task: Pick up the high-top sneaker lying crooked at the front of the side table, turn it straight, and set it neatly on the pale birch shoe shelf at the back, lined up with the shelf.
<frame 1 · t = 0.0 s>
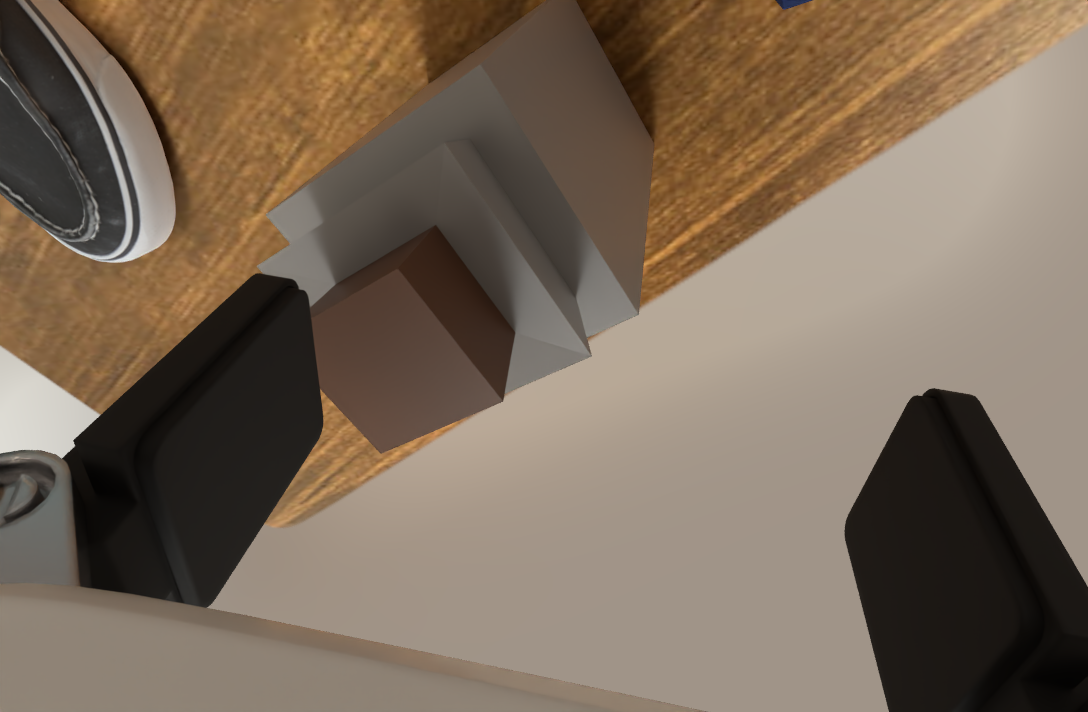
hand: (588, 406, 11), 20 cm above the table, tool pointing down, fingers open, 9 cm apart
perfume bottle: (541, 112, 28), on the table
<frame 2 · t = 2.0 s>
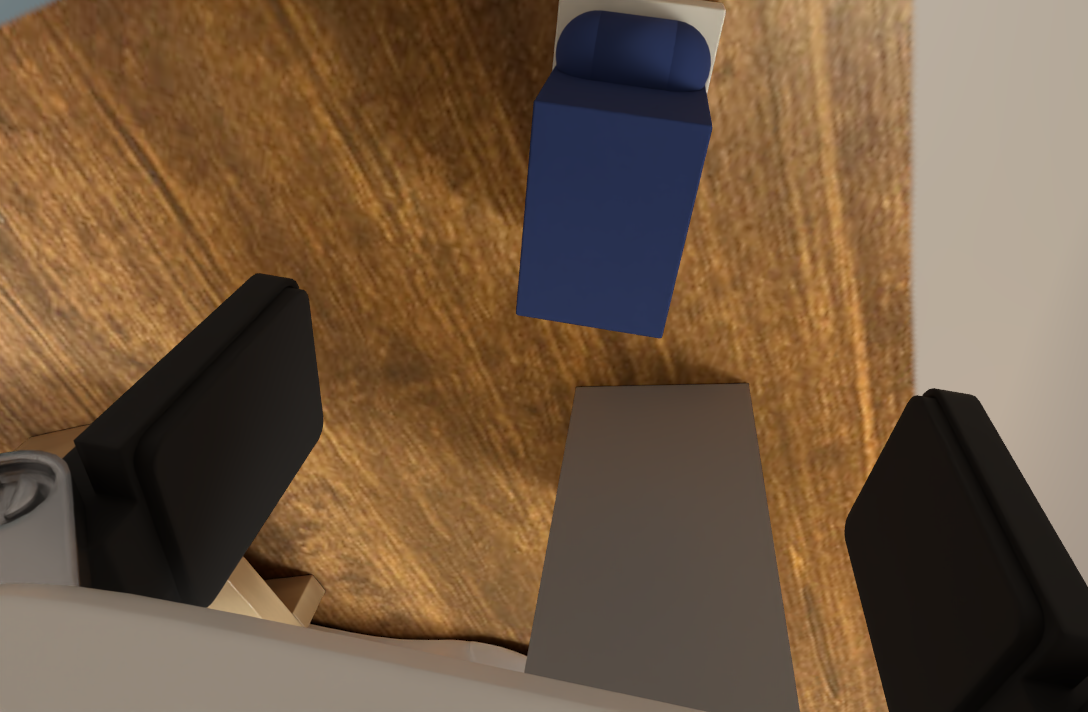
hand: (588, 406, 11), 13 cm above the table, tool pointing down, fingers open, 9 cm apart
boat shoe: (404, 657, 42), on the table
perfume bottle: (663, 445, 29), on the table
shoe shelf: (185, 518, 37), on the table
high-top sneaker: (621, 133, 22), on the table
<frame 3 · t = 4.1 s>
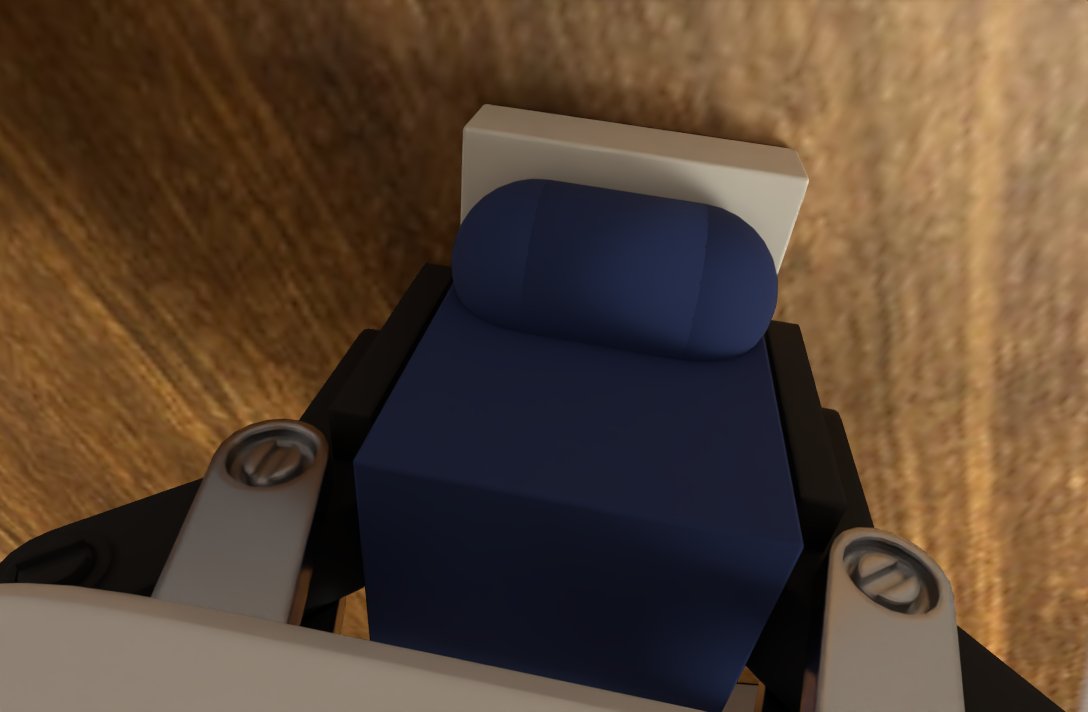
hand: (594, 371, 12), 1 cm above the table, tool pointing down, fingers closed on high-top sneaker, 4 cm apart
high-top sneaker: (597, 352, 12), on the table, touching gripper
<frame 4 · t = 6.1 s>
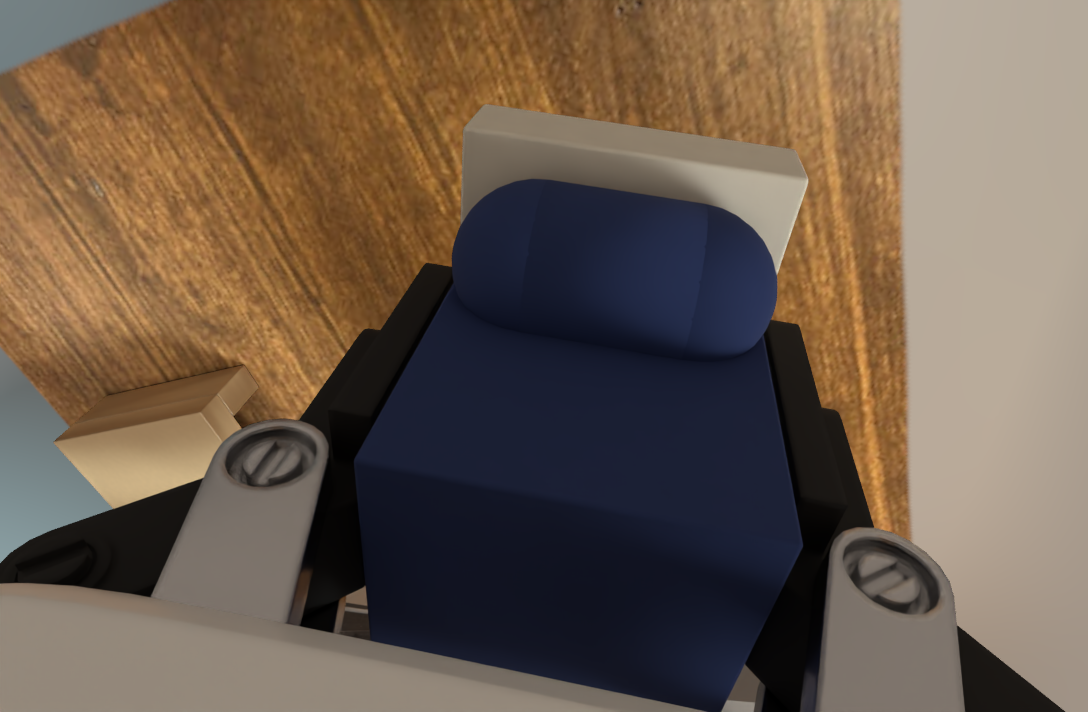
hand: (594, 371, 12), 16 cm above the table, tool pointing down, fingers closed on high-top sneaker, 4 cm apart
boat shoe: (435, 612, 45), on the table
perfume bottle: (681, 403, 32), on the table
shoe shelf: (241, 473, 40), on the table
high-top sneaker: (597, 352, 12), point 16 cm above the table, touching gripper
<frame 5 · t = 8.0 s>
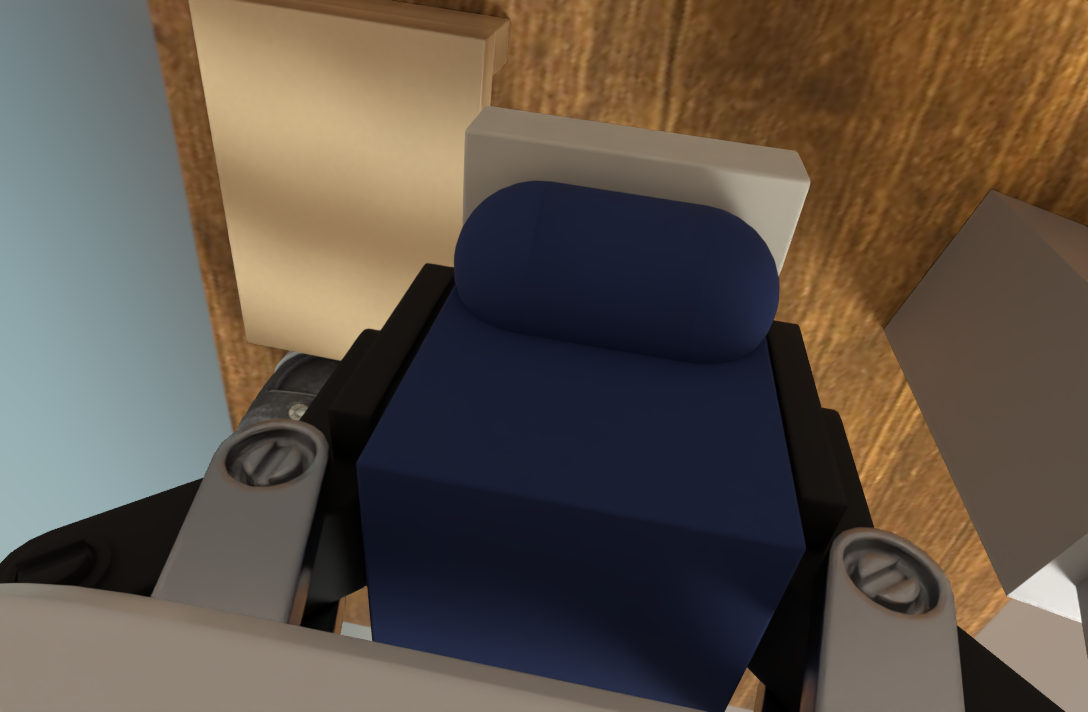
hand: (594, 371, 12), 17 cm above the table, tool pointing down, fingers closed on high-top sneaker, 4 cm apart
boat shoe: (507, 445, 37), on the table
perfume bottle: (1007, 291, 28), on the table
shoe shelf: (382, 179, 29), on the table
high-top sneaker: (599, 354, 12), point 17 cm above the table, touching gripper
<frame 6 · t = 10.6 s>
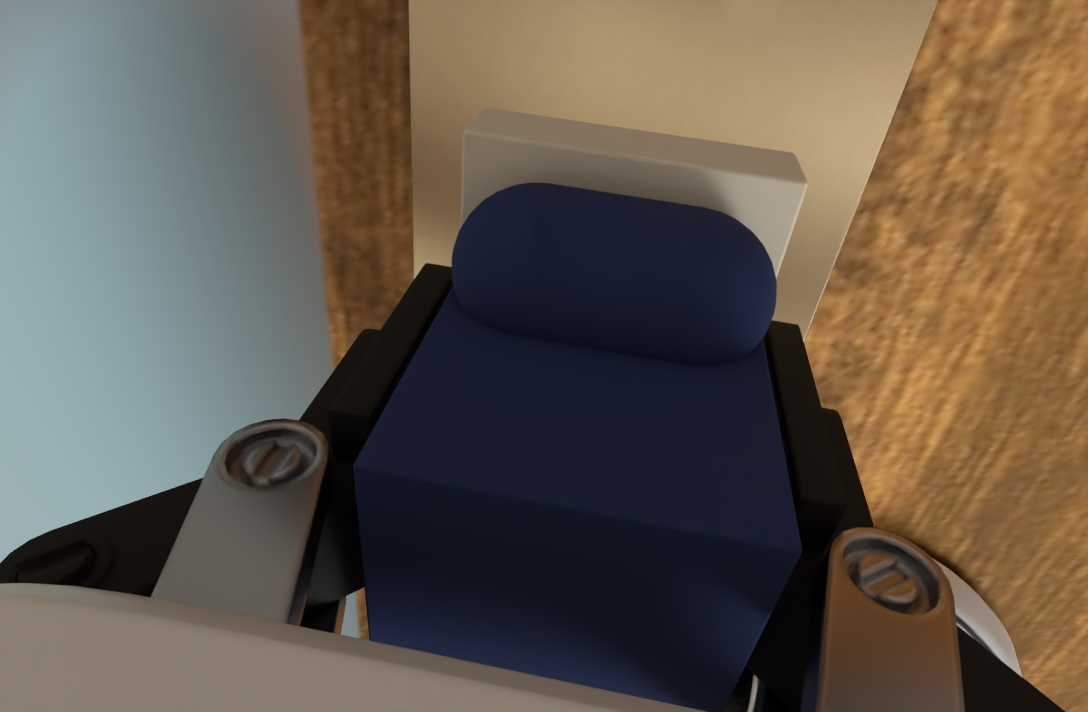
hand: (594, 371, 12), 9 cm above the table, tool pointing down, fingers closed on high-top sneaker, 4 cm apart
boat shoe: (733, 536, 27), on the table
shoe shelf: (628, 173, 19), on the table
high-top sneaker: (597, 355, 12), point 9 cm above the table, touching gripper
when the fingers open (5 cm above the table, at t = 12.2 s): high-top sneaker stays where it is, resting on shoe shelf.
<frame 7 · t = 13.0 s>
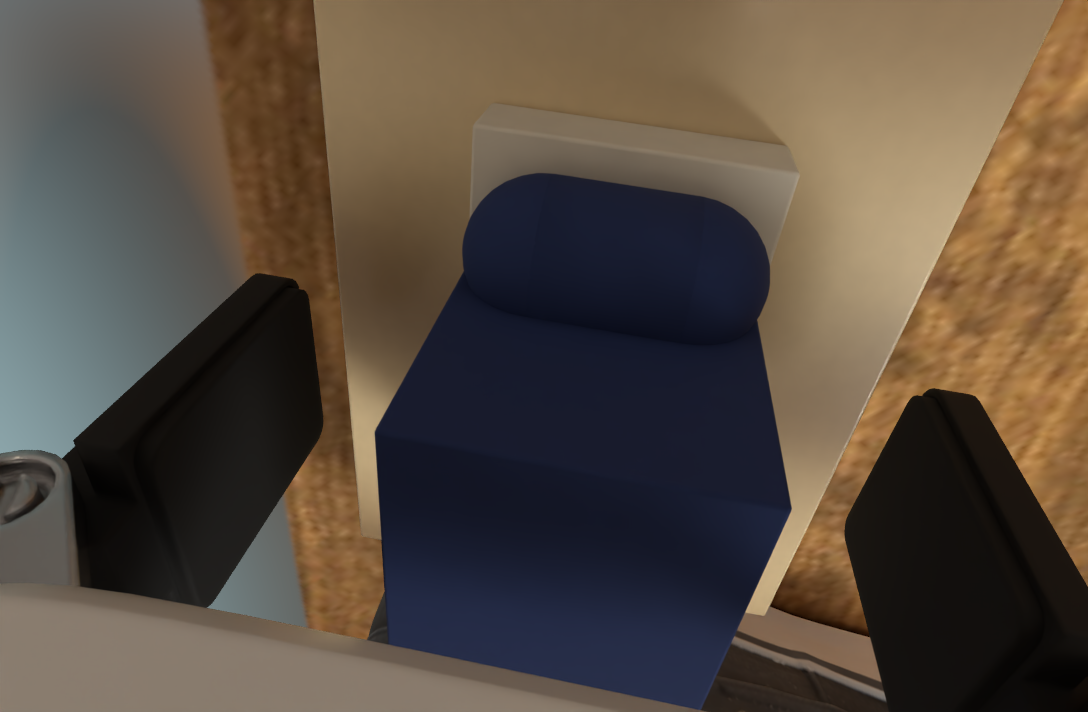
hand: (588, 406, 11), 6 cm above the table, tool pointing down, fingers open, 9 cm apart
boat shoe: (740, 639, 23), on the table
shoe shelf: (615, 245, 16), on the table
high-top sneaker: (599, 342, 12), point 4 cm above the table, touching shoe shelf
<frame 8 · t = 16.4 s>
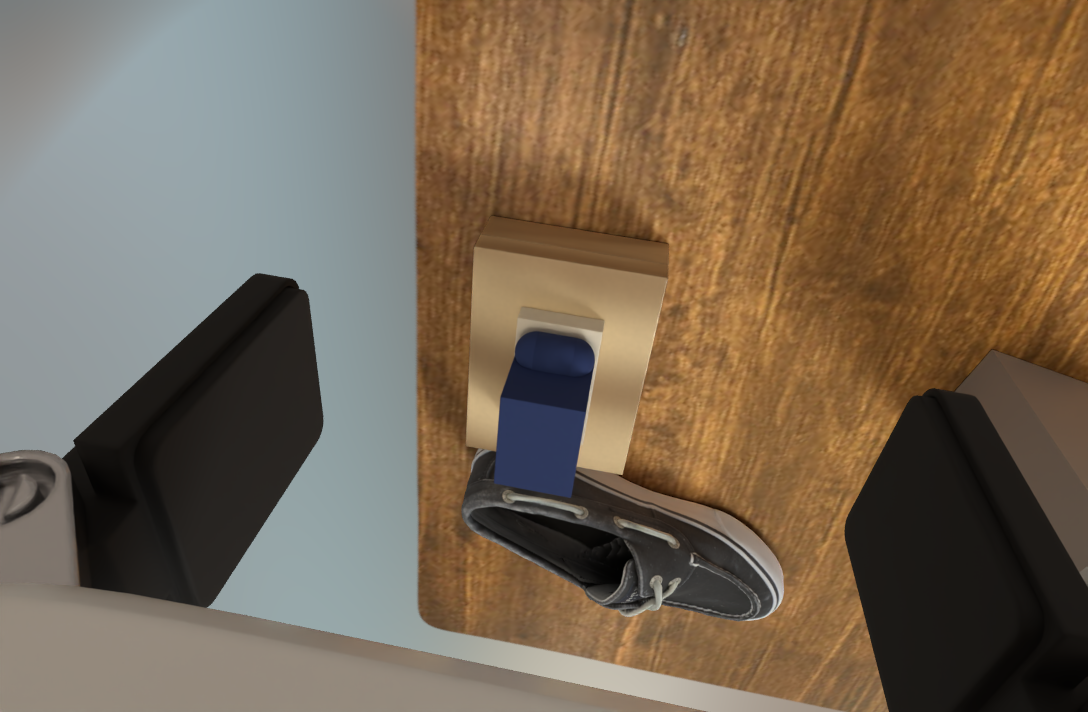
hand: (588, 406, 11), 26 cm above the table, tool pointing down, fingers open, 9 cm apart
boat shoe: (632, 506, 49), on the table
perfume bottle: (1004, 410, 40), on the table
shoe shelf: (564, 333, 42), on the table
high-top sneaker: (555, 372, 38), point 4 cm above the table, touching shoe shelf
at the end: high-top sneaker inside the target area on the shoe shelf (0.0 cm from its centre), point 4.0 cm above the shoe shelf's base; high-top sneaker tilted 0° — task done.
